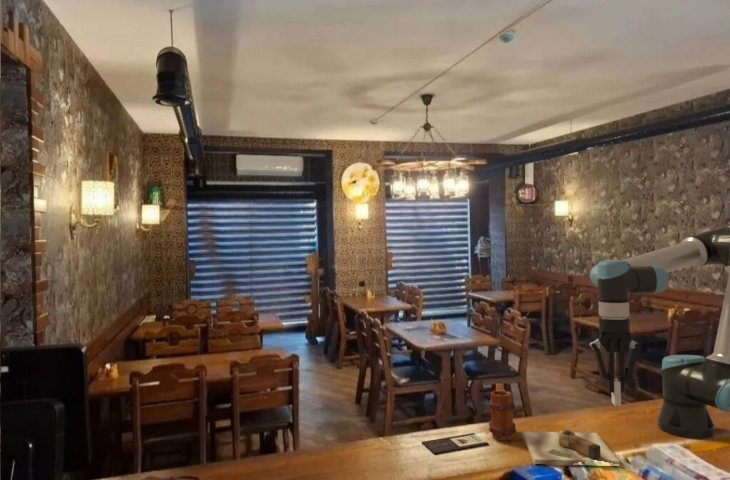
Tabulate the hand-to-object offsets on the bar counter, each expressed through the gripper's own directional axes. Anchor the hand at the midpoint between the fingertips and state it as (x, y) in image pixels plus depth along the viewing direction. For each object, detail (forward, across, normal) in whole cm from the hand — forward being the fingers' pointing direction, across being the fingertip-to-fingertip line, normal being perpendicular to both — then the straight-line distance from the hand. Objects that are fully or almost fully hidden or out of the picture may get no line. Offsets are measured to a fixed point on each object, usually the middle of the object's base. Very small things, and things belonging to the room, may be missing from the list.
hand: (616, 404), depth 138 cm
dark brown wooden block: (+14, +9, -4) cm, 18 cm away
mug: (+17, +28, -19) cm, 38 cm away
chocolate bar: (+17, +43, -11) cm, 48 cm away
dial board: (+16, +11, -8) cm, 21 cm away
